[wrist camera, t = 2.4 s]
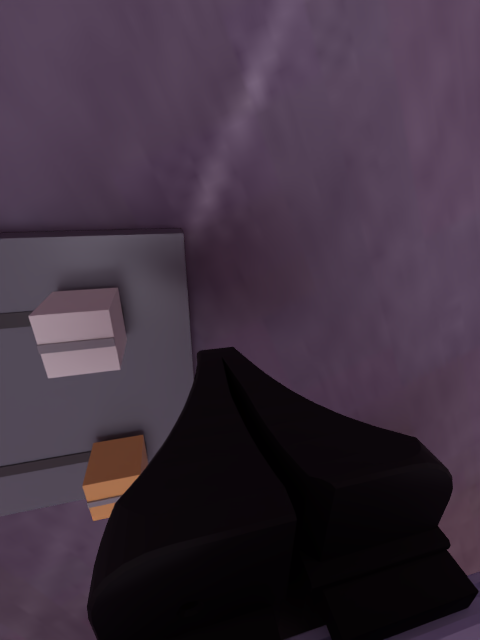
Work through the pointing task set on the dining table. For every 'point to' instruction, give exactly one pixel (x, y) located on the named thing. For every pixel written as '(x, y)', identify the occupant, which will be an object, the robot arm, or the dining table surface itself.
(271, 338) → the dining table surface
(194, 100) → the dining table surface
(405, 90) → the dining table surface
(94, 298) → the block
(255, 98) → the dining table surface
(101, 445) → the fader orange
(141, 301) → the mixer board
